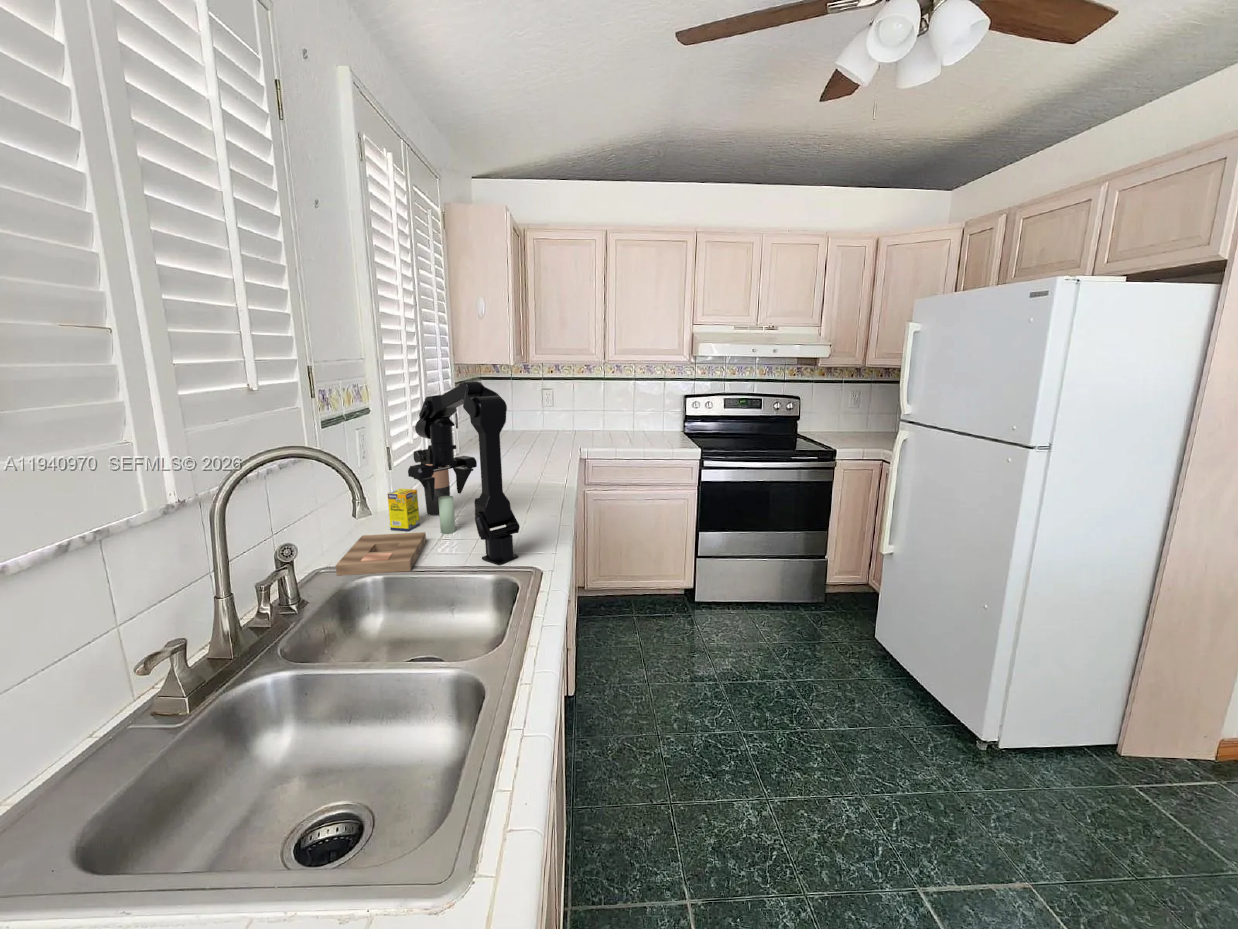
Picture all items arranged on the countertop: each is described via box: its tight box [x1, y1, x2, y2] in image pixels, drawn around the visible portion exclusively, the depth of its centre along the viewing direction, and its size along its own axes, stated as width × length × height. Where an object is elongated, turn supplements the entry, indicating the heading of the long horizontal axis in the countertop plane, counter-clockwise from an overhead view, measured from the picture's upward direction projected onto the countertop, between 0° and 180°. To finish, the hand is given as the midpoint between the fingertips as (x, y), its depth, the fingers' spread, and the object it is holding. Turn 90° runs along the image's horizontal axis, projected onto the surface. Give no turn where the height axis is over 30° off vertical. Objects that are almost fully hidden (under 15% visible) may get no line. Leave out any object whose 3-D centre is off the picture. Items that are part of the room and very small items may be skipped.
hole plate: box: [335, 531, 427, 577], centre depth 132 cm, size 20×16×3 cm
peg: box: [438, 495, 456, 535], centre depth 149 cm, size 4×4×10 cm
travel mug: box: [421, 448, 451, 516], centre depth 166 cm, size 8×8×20 cm
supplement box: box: [386, 488, 421, 532], centre depth 153 cm, size 6×6×11 cm
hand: (445, 496), depth 148 cm, fingers open, 9 cm apart
